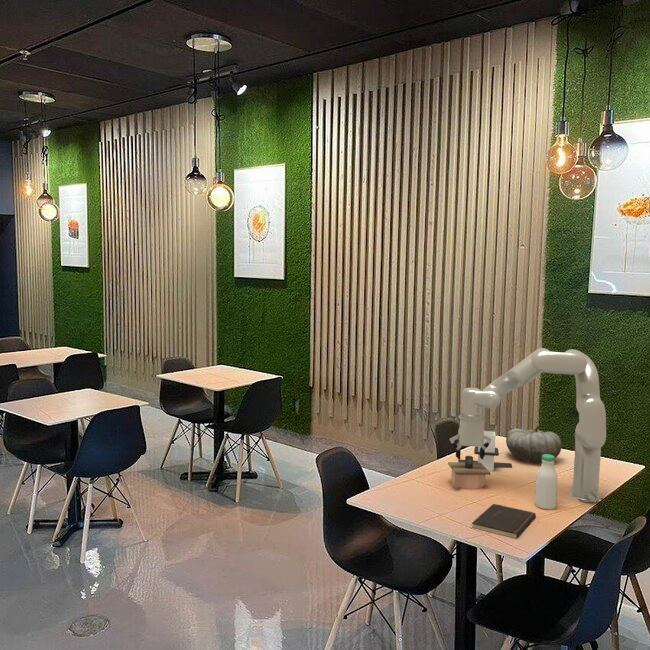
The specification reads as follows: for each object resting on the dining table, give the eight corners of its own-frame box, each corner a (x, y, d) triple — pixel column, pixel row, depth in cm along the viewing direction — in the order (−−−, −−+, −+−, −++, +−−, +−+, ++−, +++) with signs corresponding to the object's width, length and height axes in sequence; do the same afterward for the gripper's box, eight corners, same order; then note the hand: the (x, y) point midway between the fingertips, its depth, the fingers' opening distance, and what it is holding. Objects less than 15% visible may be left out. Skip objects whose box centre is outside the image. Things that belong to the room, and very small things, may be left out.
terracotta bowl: (487, 491, 267) (488, 474, 266) (456, 490, 266) (457, 474, 266) (478, 480, 279) (479, 464, 279) (449, 480, 279) (450, 464, 278)
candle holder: (458, 459, 310) (459, 425, 309) (511, 463, 305) (512, 428, 304) (457, 474, 286) (459, 437, 285) (515, 479, 281) (517, 441, 280)
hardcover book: (471, 529, 229) (471, 522, 229) (493, 509, 248) (493, 503, 248) (517, 540, 221) (517, 533, 220) (535, 519, 240) (536, 513, 240)
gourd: (543, 466, 294) (541, 427, 295) (495, 462, 312) (494, 425, 314) (571, 461, 310) (569, 424, 312) (524, 458, 329) (522, 423, 330)
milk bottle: (556, 511, 246) (558, 459, 244) (534, 508, 249) (537, 457, 247) (556, 504, 254) (559, 454, 252) (535, 501, 256) (538, 451, 254)
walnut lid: (490, 474, 266) (490, 462, 265) (456, 474, 265) (456, 461, 264) (480, 464, 280) (481, 452, 279) (448, 464, 279) (448, 452, 278)
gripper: (452, 420, 266) (451, 461, 268) (494, 420, 267) (493, 461, 268) (448, 415, 274) (447, 456, 275) (489, 415, 274) (487, 455, 276)
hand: (469, 458), depth 272 cm, fingers open, 9 cm apart
